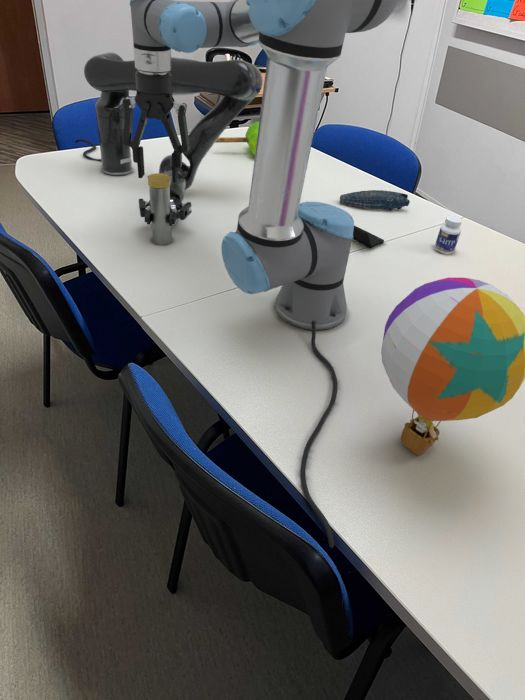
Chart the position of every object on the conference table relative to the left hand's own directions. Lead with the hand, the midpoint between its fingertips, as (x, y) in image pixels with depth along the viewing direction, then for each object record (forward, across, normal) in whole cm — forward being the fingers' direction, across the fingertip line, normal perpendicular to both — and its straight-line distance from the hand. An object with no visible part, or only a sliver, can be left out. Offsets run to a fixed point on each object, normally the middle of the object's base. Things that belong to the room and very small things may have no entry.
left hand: (159, 221), depth 127 cm
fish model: (-34, +60, +6) cm, 69 cm away
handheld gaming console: (-10, +52, +6) cm, 53 cm away
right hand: (-3, 0, -10) cm, 10 cm away
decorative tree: (-74, +23, +6) cm, 78 cm away
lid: (-3, 0, -10) cm, 10 cm away
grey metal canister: (-3, 0, +6) cm, 7 cm away
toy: (+62, +51, +6) cm, 81 cm away
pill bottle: (-8, +75, +6) cm, 76 cm away
